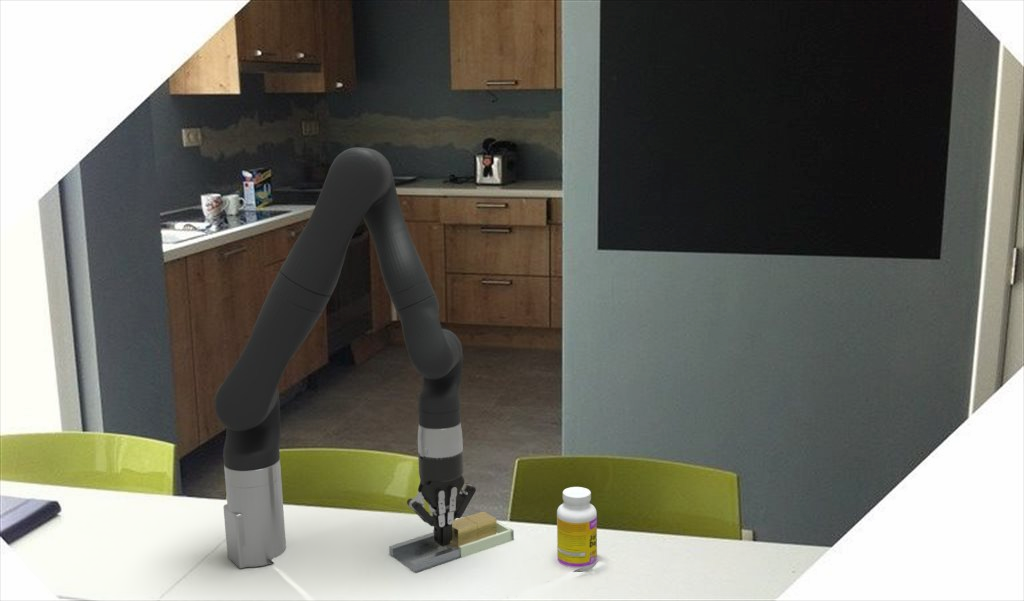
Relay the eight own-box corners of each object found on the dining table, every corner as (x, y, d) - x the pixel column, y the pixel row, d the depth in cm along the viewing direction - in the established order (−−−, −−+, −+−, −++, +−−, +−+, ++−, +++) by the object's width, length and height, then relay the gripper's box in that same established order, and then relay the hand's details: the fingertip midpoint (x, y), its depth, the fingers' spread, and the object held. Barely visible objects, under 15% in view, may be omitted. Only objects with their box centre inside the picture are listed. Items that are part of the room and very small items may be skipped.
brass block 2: (477, 545, 166) (477, 524, 165) (465, 537, 169) (465, 516, 168) (496, 539, 168) (496, 518, 167) (483, 532, 171) (483, 511, 170)
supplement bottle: (594, 574, 156) (594, 501, 153) (554, 571, 157) (553, 498, 154) (599, 556, 162) (598, 485, 160) (560, 553, 163) (559, 483, 161)
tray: (461, 562, 161) (461, 547, 160) (433, 544, 168) (433, 529, 167) (513, 544, 167) (513, 530, 166) (484, 528, 174) (484, 513, 174)
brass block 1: (458, 552, 163) (458, 530, 163) (446, 543, 167) (445, 522, 166) (477, 546, 166) (477, 524, 165) (465, 538, 169) (464, 517, 168)
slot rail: (415, 578, 155) (415, 564, 155) (388, 559, 163) (388, 545, 162) (461, 562, 161) (461, 549, 160) (433, 544, 168) (433, 531, 167)
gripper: (461, 434, 167) (463, 526, 170) (395, 450, 159) (399, 547, 162) (485, 445, 161) (487, 541, 164) (417, 463, 153) (421, 562, 156)
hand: (443, 544), depth 163 cm, fingers closed
